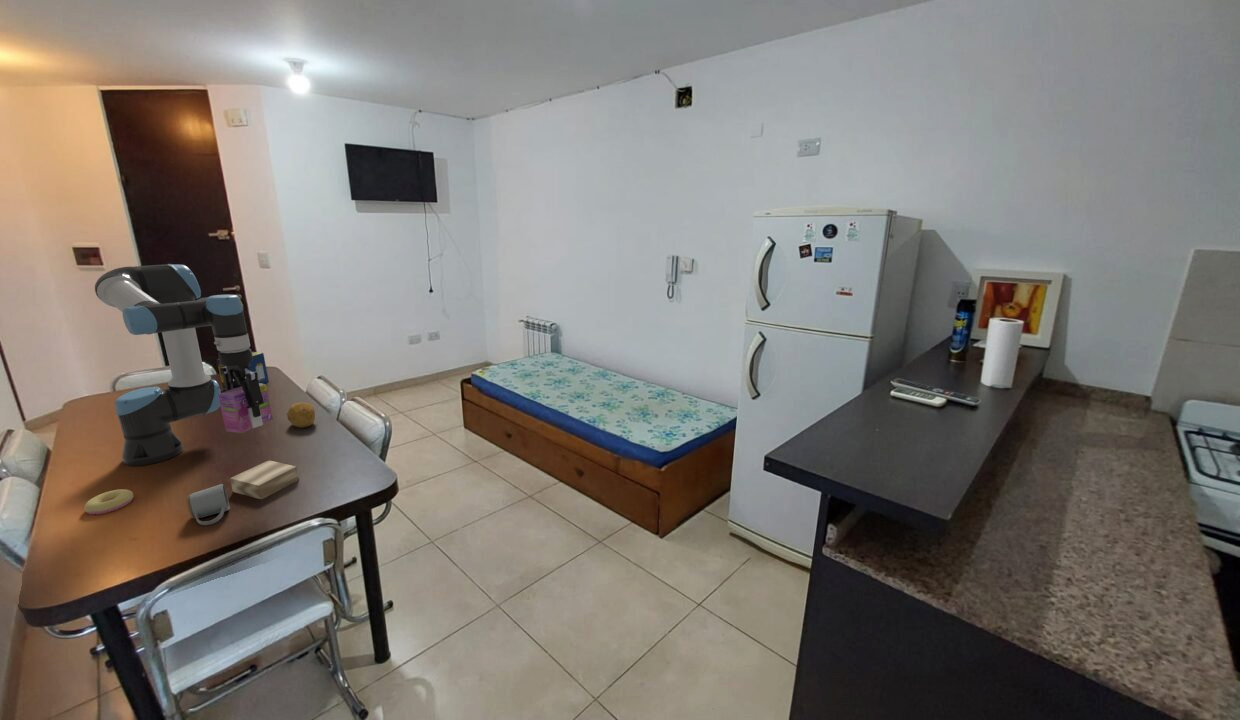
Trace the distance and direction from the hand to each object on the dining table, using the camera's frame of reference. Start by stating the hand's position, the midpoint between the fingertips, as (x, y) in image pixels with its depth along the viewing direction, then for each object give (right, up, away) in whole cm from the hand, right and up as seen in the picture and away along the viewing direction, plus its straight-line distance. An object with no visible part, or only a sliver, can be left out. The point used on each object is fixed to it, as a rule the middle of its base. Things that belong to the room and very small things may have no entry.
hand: (250, 423), depth 143 cm
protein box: (-72, +6, +91) cm, 116 cm away
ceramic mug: (-4, -25, -8) cm, 26 cm away
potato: (-17, -7, +50) cm, 53 cm away
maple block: (0, -20, +7) cm, 22 cm away
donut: (-36, -23, -5) cm, 43 cm away
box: (0, -1, 0) cm, 1 cm away
